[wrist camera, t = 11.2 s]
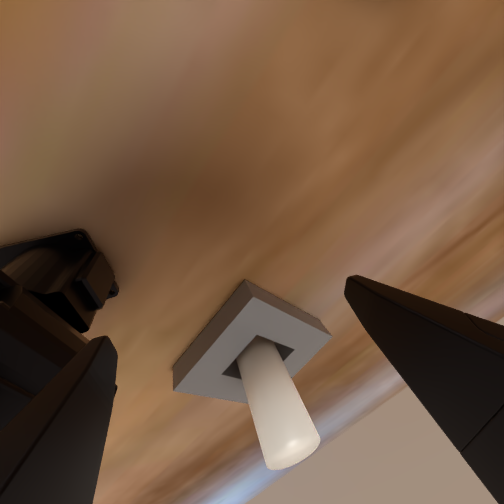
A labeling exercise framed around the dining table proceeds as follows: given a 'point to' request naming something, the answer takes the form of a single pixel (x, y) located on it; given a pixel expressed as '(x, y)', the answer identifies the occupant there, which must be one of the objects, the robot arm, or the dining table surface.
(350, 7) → the dining table surface
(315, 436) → the peg
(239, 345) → the collar block
